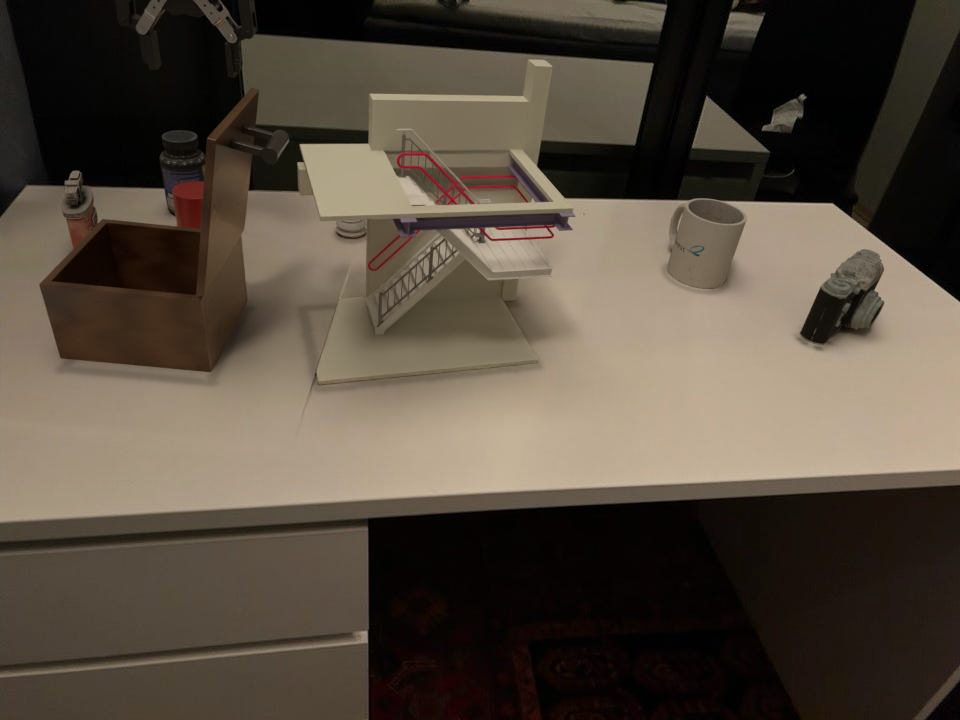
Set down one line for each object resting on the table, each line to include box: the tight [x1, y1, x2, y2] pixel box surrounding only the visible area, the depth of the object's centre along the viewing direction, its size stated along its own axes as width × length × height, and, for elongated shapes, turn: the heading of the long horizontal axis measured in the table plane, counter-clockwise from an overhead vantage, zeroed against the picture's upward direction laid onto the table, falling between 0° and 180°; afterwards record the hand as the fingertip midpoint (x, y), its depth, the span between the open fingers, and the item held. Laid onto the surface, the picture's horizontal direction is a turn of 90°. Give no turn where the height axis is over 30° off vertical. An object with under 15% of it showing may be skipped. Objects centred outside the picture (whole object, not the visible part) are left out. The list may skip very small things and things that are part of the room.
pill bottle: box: [159, 129, 206, 216], centre depth 105 cm, size 6×6×11 cm
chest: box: [38, 218, 248, 373], centre depth 81 cm, size 16×15×10 cm
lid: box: [196, 87, 290, 296], centre depth 74 cm, size 16×15×5 cm
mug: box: [666, 197, 748, 289], centre depth 108 cm, size 12×9×10 cm
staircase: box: [296, 58, 576, 386], centre depth 80 cm, size 28×18×30 cm, turn 107°
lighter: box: [60, 170, 99, 250], centre depth 93 cm, size 8×3×10 cm, turn 16°
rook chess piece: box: [335, 220, 367, 239], centre depth 106 cm, size 4×4×8 cm
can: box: [172, 181, 204, 229], centre depth 99 cm, size 6×6×8 cm
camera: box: [799, 248, 885, 346], centre depth 98 cm, size 15×7×10 cm, turn 137°
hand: (194, 71), depth 84 cm, fingers open, 8 cm apart
